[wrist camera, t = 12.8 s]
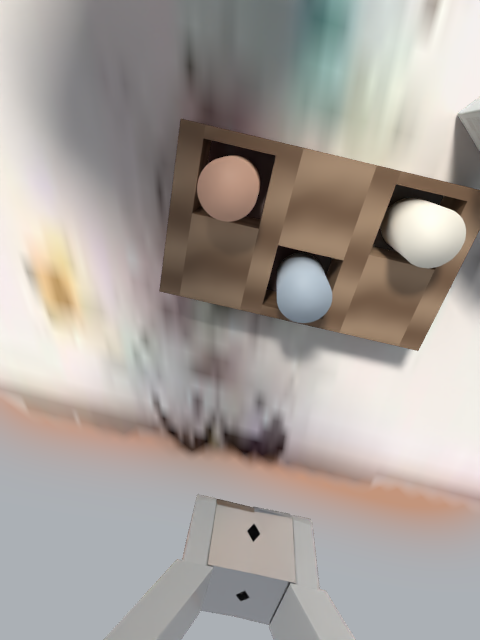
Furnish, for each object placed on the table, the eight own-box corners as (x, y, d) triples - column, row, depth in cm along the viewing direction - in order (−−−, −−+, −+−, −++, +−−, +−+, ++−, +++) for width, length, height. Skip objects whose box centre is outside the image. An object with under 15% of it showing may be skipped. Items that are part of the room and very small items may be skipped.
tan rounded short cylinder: (214, 149, 32) (202, 150, 26) (266, 161, 32) (264, 164, 26) (205, 203, 34) (192, 214, 28) (254, 214, 34) (250, 227, 28)
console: (192, 121, 33) (180, 118, 29) (470, 188, 33) (497, 194, 29) (171, 276, 39) (159, 291, 35) (403, 329, 40) (418, 350, 36)
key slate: (283, 247, 35) (284, 266, 29) (329, 258, 35) (340, 279, 29) (271, 291, 37) (270, 316, 31) (315, 301, 37) (322, 328, 31)
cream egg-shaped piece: (392, 191, 32) (417, 201, 26) (443, 203, 32) (477, 215, 27) (373, 242, 34) (392, 260, 28) (420, 253, 34) (448, 274, 29)
